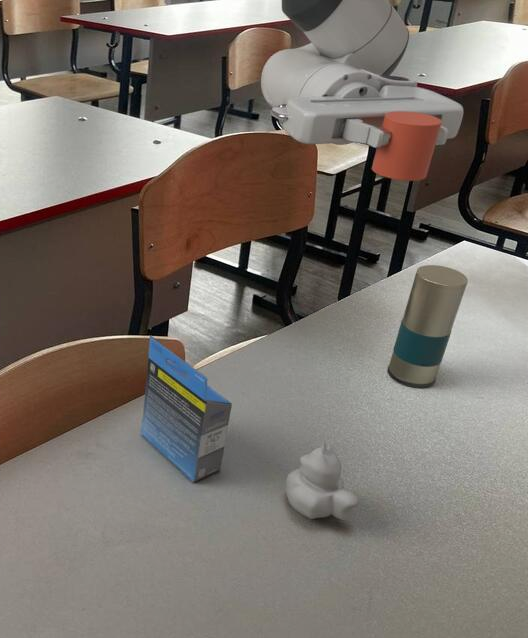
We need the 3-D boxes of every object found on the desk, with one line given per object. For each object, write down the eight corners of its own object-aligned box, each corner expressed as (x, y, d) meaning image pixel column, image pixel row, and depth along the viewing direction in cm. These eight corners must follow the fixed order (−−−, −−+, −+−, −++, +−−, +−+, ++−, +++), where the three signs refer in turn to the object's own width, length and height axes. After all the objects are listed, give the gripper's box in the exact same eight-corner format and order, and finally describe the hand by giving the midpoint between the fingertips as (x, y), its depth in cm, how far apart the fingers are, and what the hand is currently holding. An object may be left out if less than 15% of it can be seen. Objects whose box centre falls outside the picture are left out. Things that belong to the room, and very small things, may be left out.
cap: (411, 164, 86) (425, 111, 83) (435, 181, 81) (452, 125, 78) (363, 163, 86) (376, 110, 83) (385, 180, 81) (399, 124, 78)
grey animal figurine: (300, 480, 74) (316, 415, 70) (363, 517, 70) (384, 450, 66) (269, 506, 71) (284, 439, 67) (333, 546, 67) (353, 477, 63)
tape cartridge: (223, 471, 75) (241, 367, 69) (192, 484, 74) (208, 379, 67) (167, 423, 82) (179, 324, 76) (138, 434, 80) (147, 334, 74)
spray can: (421, 363, 93) (452, 264, 87) (443, 387, 89) (478, 285, 82) (379, 363, 93) (407, 264, 86) (399, 388, 89) (431, 286, 82)
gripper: (269, 81, 89) (332, 112, 77) (422, 77, 93) (504, 106, 81) (260, 134, 92) (319, 172, 80) (408, 128, 96) (485, 163, 84)
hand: (413, 139), depth 81 cm, fingers closed on cap, 5 cm apart
